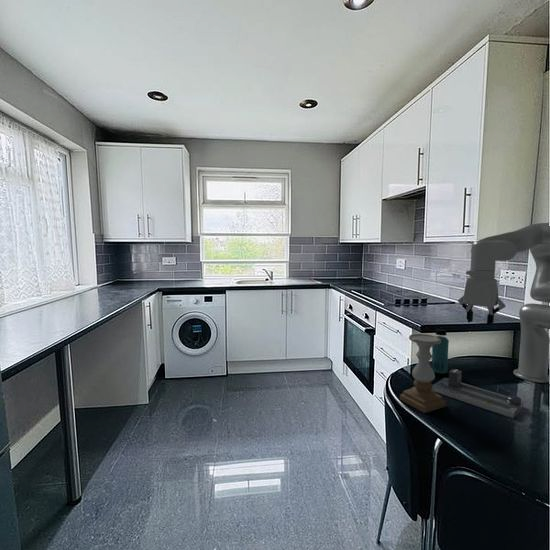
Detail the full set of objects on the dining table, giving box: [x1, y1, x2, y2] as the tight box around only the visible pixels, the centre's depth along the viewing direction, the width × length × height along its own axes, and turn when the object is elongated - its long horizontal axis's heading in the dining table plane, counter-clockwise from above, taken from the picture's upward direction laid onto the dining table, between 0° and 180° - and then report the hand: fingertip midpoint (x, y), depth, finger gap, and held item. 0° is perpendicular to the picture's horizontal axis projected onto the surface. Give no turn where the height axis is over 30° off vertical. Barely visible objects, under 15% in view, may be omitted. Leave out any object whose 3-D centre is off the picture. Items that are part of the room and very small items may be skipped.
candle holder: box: [399, 333, 447, 414], centre depth 111 cm, size 11×11×24 cm
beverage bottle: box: [430, 328, 450, 374], centre depth 136 cm, size 6×7×20 cm
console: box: [431, 377, 524, 420], centre depth 115 cm, size 12×26×4 cm, turn 40°
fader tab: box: [448, 368, 463, 388], centre depth 120 cm, size 4×3×6 cm
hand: (479, 322), depth 116 cm, fingers open, 5 cm apart
